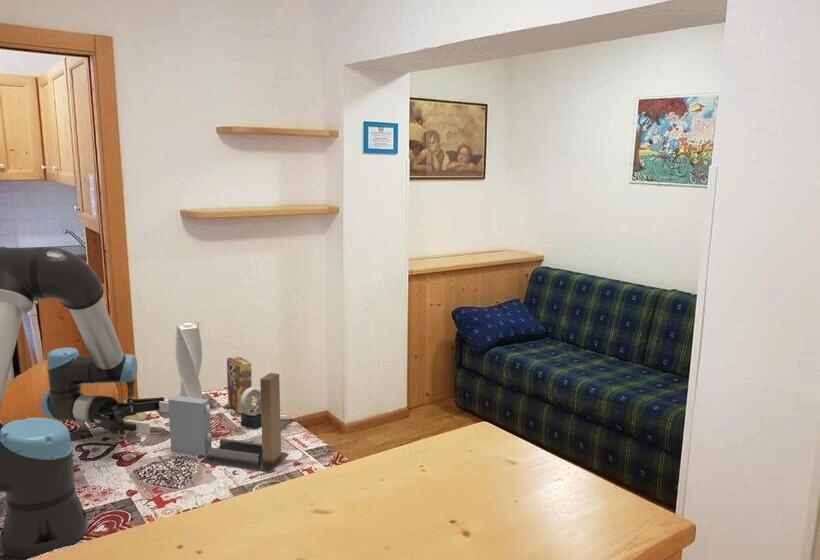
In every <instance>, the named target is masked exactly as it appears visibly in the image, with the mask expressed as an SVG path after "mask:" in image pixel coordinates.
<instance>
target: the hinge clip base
mask: <svg viewBox="0 0 820 560" xmlns="http://www.w3.org/2000/svg"><path fill="white" fill-rule="evenodd" d="M259 380H260V381H259V382H260V383H259V385H260V389H261V405H260V406H261V423H262V427H261V443H259V442H253V441H252V442H251V441H243V440H236V439H228V438H221V439H219V447H217V448H216V447H212V448H211V447H210V448H208V454H207V455H206V456H204V458H202V459H201V460H200V463H203V464H208V465H215V466H216V465H219V466H223V467H231V468H238V469H244V470H250V471H251V470H252V471H258V472H263V473H264V472H266V473H271V472H272V471H273V470H274V469H275V468H277V466H278V465H279V464H280V463H282V462H283V461H284V460H285V458H287V457H288V456H289V453H287V452H282V440H281V439H282V436H281V435H282V433H281V429H282V428H281V393H280V391H281V389H280V373H273V372H269V373H267V374H266V375H264V376H263V377H262V378H260V379H259Z"/></svg>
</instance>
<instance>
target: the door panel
mask: <svg viewBox="0 0 820 560" xmlns="http://www.w3.org/2000/svg"><path fill="white" fill-rule="evenodd" d="M167 402H168V405H169V413H168V419H169V436H170V437H169V439H170V451H171V452H175V453H182V454H189V455H197V456H203V457H206V456H208V448H210V447H211V448H213V447H212V428H211V427H212V426H211V405H210V404H211V403H210V399H208V398H207V399H206V398H203V399H200V398H191V397H183V396H180V395H174V396H172V397H171V398H168V400H167Z"/></svg>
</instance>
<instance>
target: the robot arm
mask: <svg viewBox="0 0 820 560" xmlns="http://www.w3.org/2000/svg"><path fill="white" fill-rule="evenodd" d="M104 293H105V290H104V286H103V284H102V282H101V279H100V277H99V276H98V275H97V273H96V272H95V270H94V269H93V268H92V267H91V266H90V265H89V264H88V263H87V262H86V261H85V260H84V259H82V258H80V257H79V256H77V255H76V254H74V253H73V252H71V251H69V250H66V249H64V248H60V247H54V246H42V247H38V246H35V247H33V246H31V247H30V246H29V247H7V246H0V409H1V407H2V402H3V398H4V396H5V389H6V386H7V384H8V383H7V382H8V377H9V373H10V369H11V365H12V361H13V356H14V353H15V350H16V349H15V348H16V345H17V340H18V335H19V332H20V328H21V324H22V319H23V316H24V315H26V314H28V313H30V312H31V311H32V309H33V307H34V303H35V300H37V299H38V300H39V299H56V300H58V301H59V303H60V304H61V305H62V306H63V307H64V308H65V309H67V310H69V312H70V314H71V316H72V318H73V320H74V323H75V324H76V327H77V330H78V331H79V333H80V335H81V338H82V340H83V342H84V344H85V346H86V348H87V350H88V352H89V355H80V353H79V350H78V349H77V348H76V347H75V348H74V347H59V348H55V349H53V350H51V351H50V352H48V353H47V358H46V359H47V362H46V363H47V368H46V370H47V378H48V379H47V380H48V387H49V391H47V392H46V393H45V394H44V395H43V396H42V401H41V403H40V411H41V412H42V414H43V415H44V416H45V417H27V418H25V419H17V420H12V421H9V422H8V423H6V424H5V423H4V422H3V421H2V420H1V419H0V493H5V496H6V504H7V505H6V506H7V509H6V513H5V517H4V521H3V527H2V529H1V531H0V549H1V551H2V553H4V554H5V555H6V556H9V557H11V558H17V559H31V558H30V557H33V556H38V555H40V554H43V553H46V552H49V551H52V550H54V549H58V548H62V547H65V546H69V545H71V546H72V544H73V545H74V544H76V543H77V542H78V541H80V540H81V539H82V538H83V537H84V536H86V533H87V532H88V529H89V520H88V515H87V512H86V511H85V509H84V508H83V507H84V506H83V505H82V503H81V500H80V499H79V497H78V495H77V493H76V484H75V471H74V455H73V448H74V447H73V443H72V441H71V440H72V439H71V438H72V437H71V433H70V429H69V428H68V426H67V425H66V424H64V423H63V422H62V421H63V420H64V421H73V422H78V423H79V422H81V423H86V424H88V425H89V424H94V426H97V427H101V428H102V429H104V430H105V431H107V432H108V433H110V434H111V435H117V434H118V433H119V435H120V436H122V435H125V434H126V433H125V432H132V433H140V434H147V435H148V434H150V433H151V430H150V429H151V428H150V427H151V425H150V424H151V423H150V422H148V421H134V420H126V421H125V423H124V420H123V418H125V417H126V416H132V415H135V414H136V413H141V412H145V413H147V412H154V411H159V412H160V413H168V414H169V405H168V401H165V397H161V396H160V397H150V398H149V397H147V398H137V399H127V398H126V399H127V403H124V402H118V401H117V399H116V398H115V397H113V396H108V395H99V394H91V393H84V392H83V393H82V389H81V388H82V385H83V384H88V385H89V384H103V383H104V384H113V383H115V384H116V383H117V384H121V383H126V382H130V381H133V380H134V379H135V380H136V377H137V373H138V360H137V356H135V354H129V353H124V351H123V349H122V346H121V343H120V341H119V338H118V336H117V333H116V330H115V328H114V326H113V323H112V321H111V317H110V314H109V312H108V310H107V307H106V305H105V302H104V300H103V299H104V298H103V297H104ZM131 409H133V412H131ZM59 420H60V421H59ZM69 547H70V546H69ZM33 558H34V557H33Z"/></svg>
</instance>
